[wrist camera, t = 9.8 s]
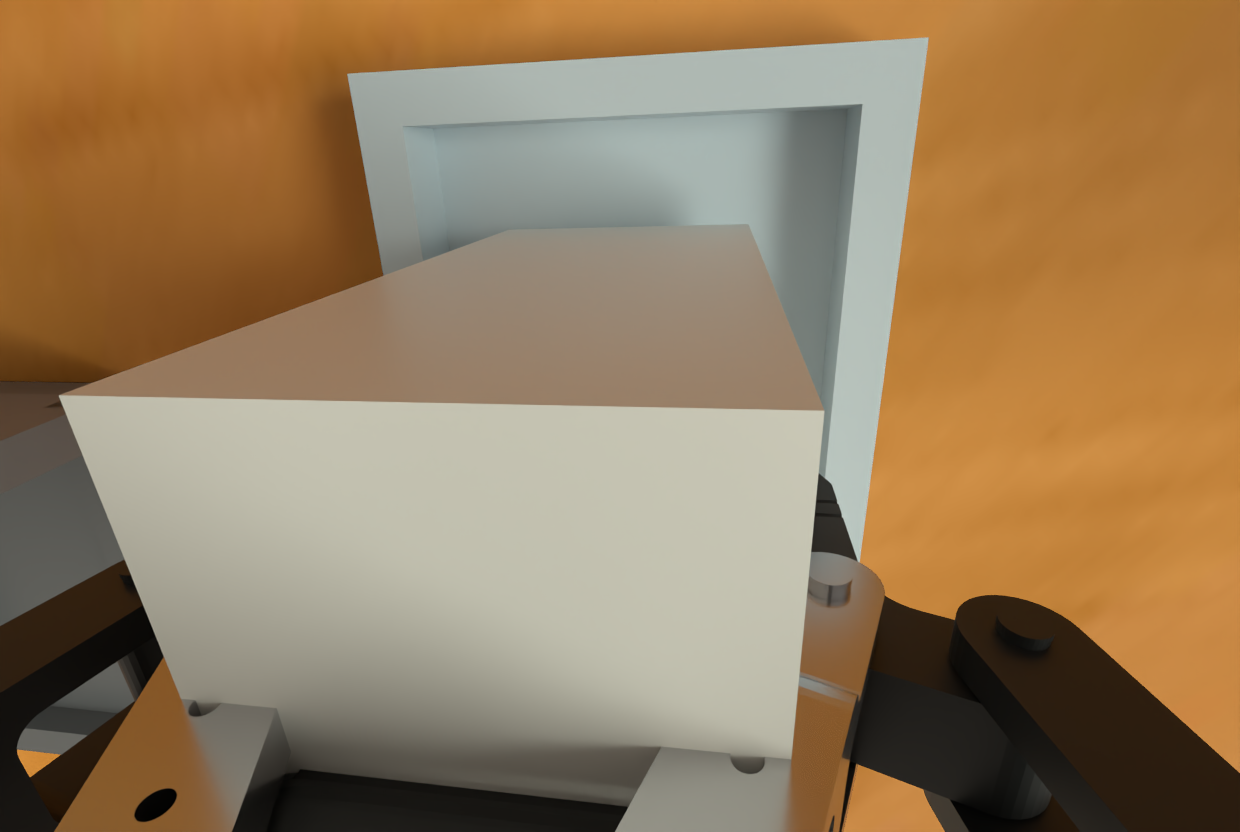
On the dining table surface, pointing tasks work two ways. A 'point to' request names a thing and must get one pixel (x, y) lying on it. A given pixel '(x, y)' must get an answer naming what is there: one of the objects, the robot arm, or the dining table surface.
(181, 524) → the white block with knob
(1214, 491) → the dining table surface
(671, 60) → the tray
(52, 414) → the bay
